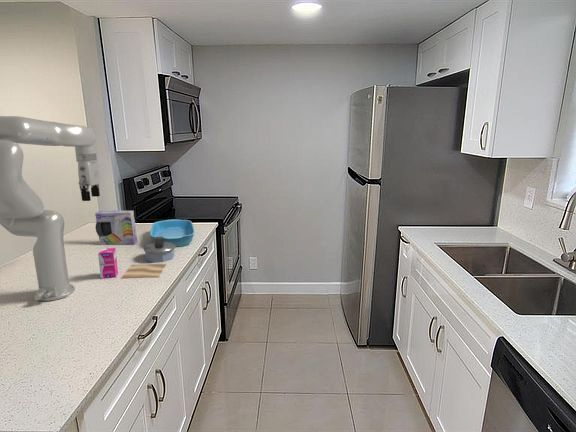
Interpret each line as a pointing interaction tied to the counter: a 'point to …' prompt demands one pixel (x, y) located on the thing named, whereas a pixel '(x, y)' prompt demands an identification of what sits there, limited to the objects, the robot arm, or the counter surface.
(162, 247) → the lid
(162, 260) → the bowl
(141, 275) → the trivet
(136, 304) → the counter surface
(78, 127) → the robot arm
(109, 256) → the supplement box
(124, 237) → the cake pan box
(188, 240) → the casserole dish
